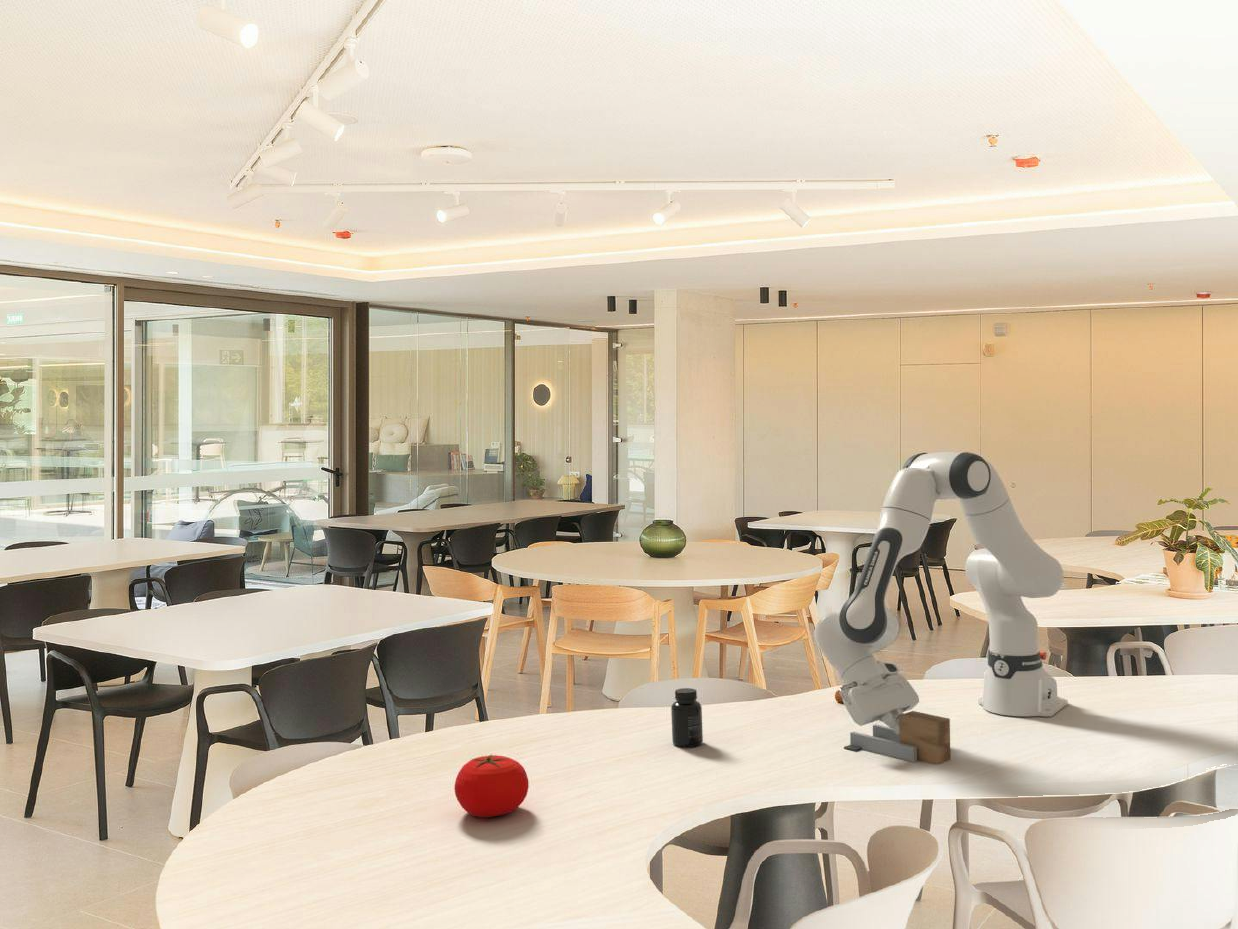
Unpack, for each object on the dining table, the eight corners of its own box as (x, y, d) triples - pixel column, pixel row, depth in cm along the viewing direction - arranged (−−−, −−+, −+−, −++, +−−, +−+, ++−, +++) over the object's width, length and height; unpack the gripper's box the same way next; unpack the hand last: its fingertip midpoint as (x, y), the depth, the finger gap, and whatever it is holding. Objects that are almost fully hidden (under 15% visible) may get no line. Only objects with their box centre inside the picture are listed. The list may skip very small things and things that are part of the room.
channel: (882, 735, 244) (882, 722, 244) (944, 750, 232) (944, 736, 232) (844, 748, 235) (843, 735, 235) (907, 764, 223) (907, 750, 223)
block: (913, 750, 233) (912, 710, 232) (950, 759, 226) (949, 718, 226) (899, 755, 229) (899, 715, 229) (936, 764, 223) (936, 723, 222)
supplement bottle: (703, 739, 244) (702, 686, 244) (702, 748, 238) (701, 694, 237) (672, 739, 245) (671, 686, 245) (671, 748, 238) (670, 694, 238)
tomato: (495, 795, 210) (494, 742, 210) (543, 809, 202) (542, 753, 202) (439, 817, 199) (437, 761, 199) (488, 832, 191) (486, 774, 191)
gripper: (844, 678, 230) (883, 733, 223) (900, 663, 243) (939, 714, 236) (827, 695, 233) (865, 750, 226) (884, 679, 247) (921, 730, 240)
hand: (903, 732), depth 231 cm, fingers closed, pressing on block
